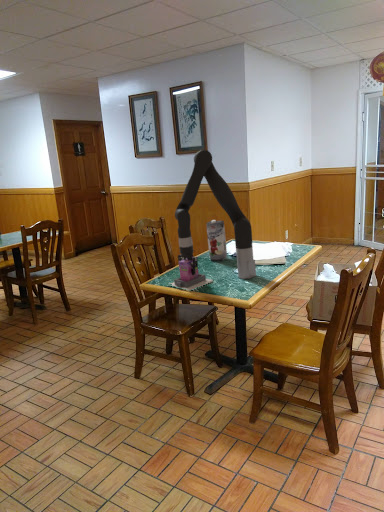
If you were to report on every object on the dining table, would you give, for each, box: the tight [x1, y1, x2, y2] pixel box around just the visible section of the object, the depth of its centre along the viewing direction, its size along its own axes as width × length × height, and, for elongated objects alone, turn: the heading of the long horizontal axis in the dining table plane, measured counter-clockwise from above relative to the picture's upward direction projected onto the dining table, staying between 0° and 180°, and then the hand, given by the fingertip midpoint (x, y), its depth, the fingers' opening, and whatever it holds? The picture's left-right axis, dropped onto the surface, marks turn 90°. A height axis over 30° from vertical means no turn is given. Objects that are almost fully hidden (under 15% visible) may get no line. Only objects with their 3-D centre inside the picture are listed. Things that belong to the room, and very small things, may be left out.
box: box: [178, 260, 200, 282], centre depth 220 cm, size 10×6×12 cm, turn 146°
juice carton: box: [205, 219, 228, 262], centre depth 259 cm, size 9×10×27 cm
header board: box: [170, 273, 214, 290], centre depth 222 cm, size 18×18×4 cm
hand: (189, 273), depth 221 cm, fingers closed on box, 6 cm apart
